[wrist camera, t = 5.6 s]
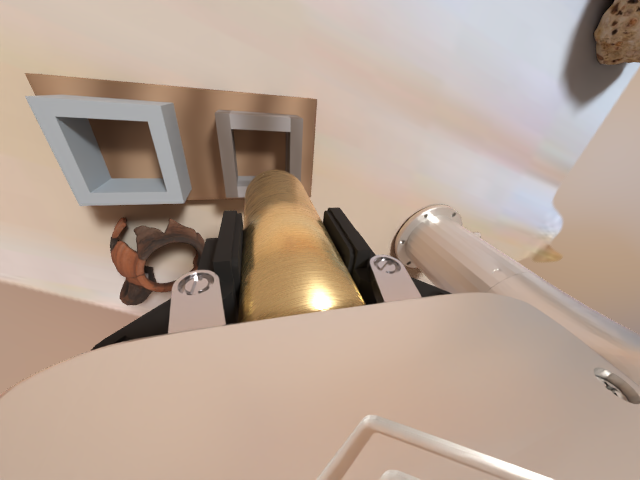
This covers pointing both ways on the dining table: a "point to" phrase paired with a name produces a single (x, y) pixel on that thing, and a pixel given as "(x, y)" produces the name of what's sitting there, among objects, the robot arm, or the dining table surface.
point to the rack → (86, 158)
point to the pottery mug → (133, 262)
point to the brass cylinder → (288, 254)
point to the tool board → (202, 133)
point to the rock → (619, 33)
